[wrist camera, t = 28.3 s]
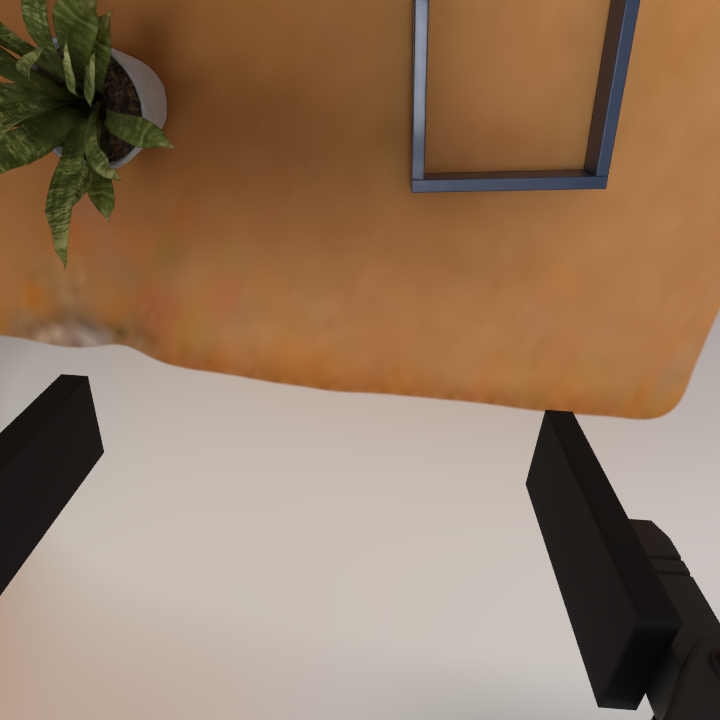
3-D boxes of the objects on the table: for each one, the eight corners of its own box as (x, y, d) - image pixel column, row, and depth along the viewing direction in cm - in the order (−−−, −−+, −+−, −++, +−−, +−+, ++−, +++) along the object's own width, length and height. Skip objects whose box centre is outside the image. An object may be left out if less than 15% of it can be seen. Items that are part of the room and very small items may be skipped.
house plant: (39, -109, 31) (-253, -251, 17) (263, 15, 34) (170, -18, 19) (3, 131, 38) (-231, 174, 23) (193, 221, 40) (85, 309, 26)
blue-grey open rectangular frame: (414, -77, 31) (416, -88, 29) (639, -88, 31) (658, -99, 28) (410, 185, 38) (411, 192, 36) (593, 181, 38) (606, 188, 35)
